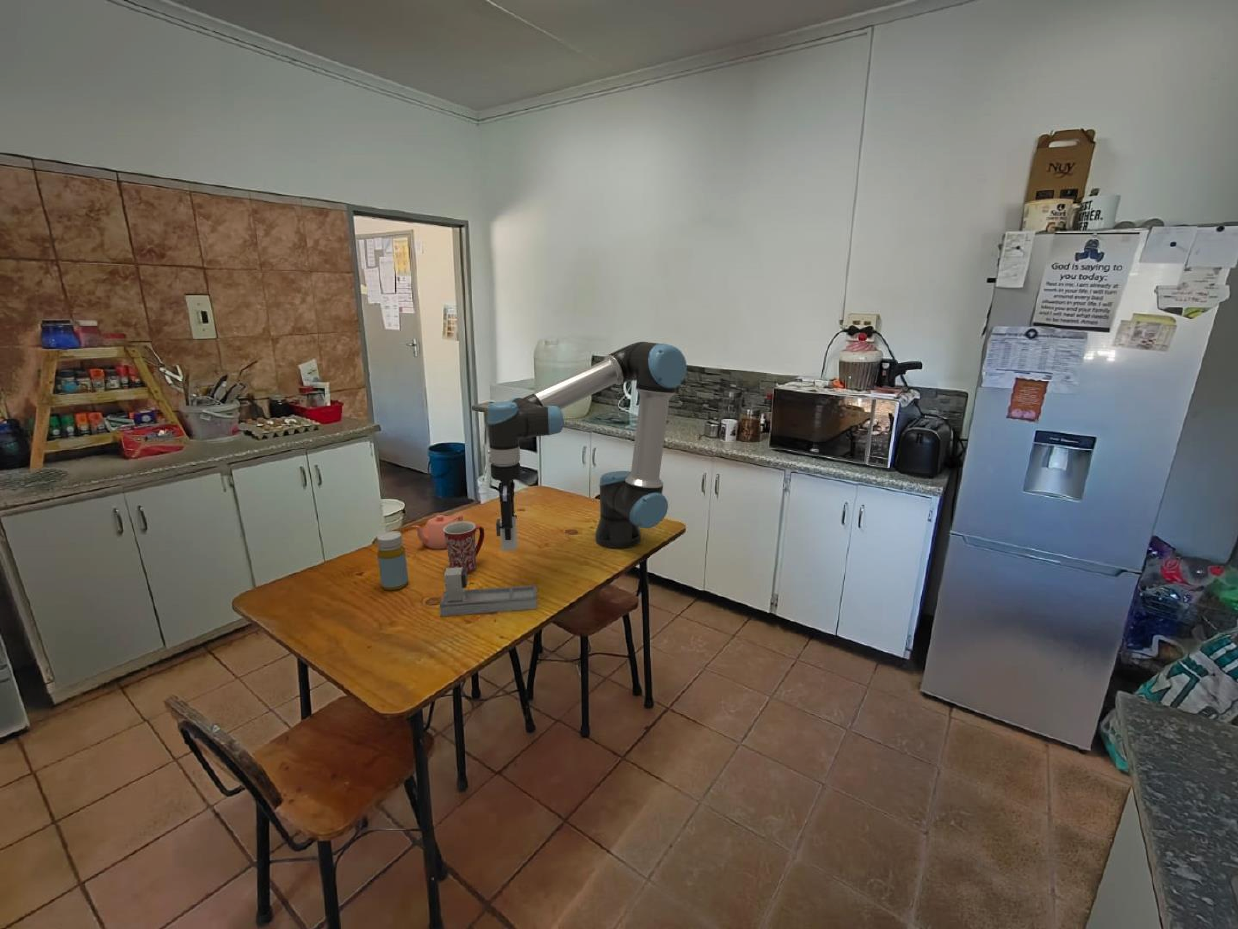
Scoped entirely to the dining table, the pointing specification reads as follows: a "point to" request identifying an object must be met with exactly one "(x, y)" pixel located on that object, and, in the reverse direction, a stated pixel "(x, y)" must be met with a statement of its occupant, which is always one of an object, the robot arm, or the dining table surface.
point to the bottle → (392, 561)
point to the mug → (463, 544)
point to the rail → (482, 596)
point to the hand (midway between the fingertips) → (509, 546)
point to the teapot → (436, 531)
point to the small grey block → (500, 532)
